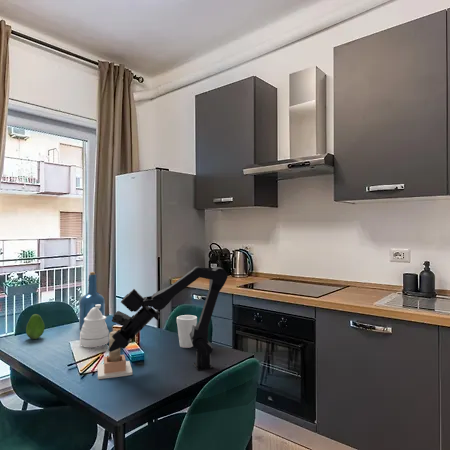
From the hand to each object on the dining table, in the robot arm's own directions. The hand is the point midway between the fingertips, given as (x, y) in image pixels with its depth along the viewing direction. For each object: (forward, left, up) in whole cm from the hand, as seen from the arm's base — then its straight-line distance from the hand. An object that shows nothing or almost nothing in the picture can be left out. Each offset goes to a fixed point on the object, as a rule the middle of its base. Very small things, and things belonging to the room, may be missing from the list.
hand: (111, 348), depth 137 cm
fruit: (+54, +33, -8) cm, 63 cm away
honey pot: (+38, +6, -9) cm, 39 cm away
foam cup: (+20, -34, -8) cm, 40 cm away
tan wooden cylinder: (0, -1, -7) cm, 7 cm away
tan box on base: (0, -1, -8) cm, 8 cm away
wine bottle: (+67, +7, -9) cm, 67 cm away
